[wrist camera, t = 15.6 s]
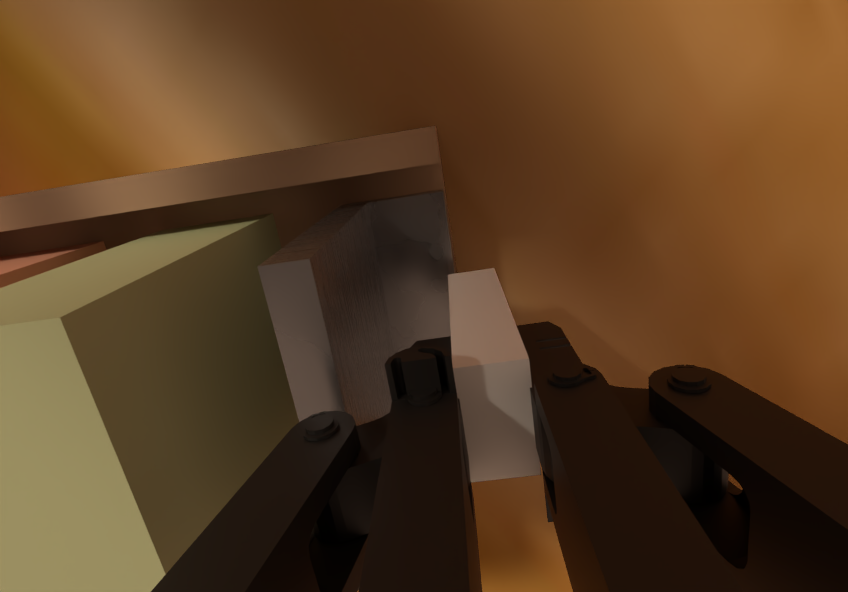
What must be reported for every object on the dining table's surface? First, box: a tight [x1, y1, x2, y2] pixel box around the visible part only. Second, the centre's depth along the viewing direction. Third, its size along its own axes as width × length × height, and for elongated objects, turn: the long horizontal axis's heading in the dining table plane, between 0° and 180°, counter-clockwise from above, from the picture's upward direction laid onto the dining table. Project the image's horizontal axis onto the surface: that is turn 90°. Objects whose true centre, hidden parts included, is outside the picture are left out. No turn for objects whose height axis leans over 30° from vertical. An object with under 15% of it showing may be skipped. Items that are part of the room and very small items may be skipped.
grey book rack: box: [0, 126, 457, 273], centre depth 14 cm, size 25×11×13 cm, turn 99°
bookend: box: [257, 189, 455, 590], centre depth 14 cm, size 4×8×8 cm, turn 9°
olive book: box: [0, 213, 299, 592], centre depth 14 cm, size 4×8×10 cm, turn 9°
